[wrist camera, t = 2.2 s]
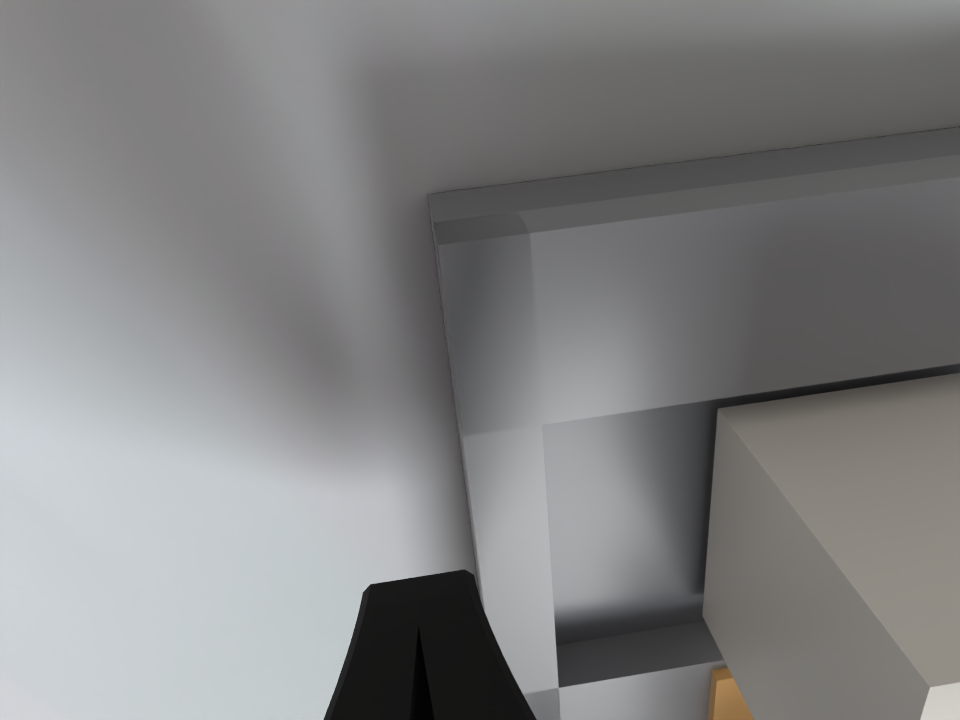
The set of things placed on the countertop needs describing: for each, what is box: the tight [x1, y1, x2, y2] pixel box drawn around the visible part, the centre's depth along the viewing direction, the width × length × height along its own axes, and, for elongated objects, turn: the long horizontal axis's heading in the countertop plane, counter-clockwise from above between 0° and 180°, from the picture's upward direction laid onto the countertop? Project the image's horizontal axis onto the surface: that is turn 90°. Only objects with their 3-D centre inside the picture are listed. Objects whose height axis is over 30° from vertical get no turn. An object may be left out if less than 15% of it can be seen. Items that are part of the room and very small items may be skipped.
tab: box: [702, 373, 960, 720], centre depth 9 cm, size 4×4×5 cm
